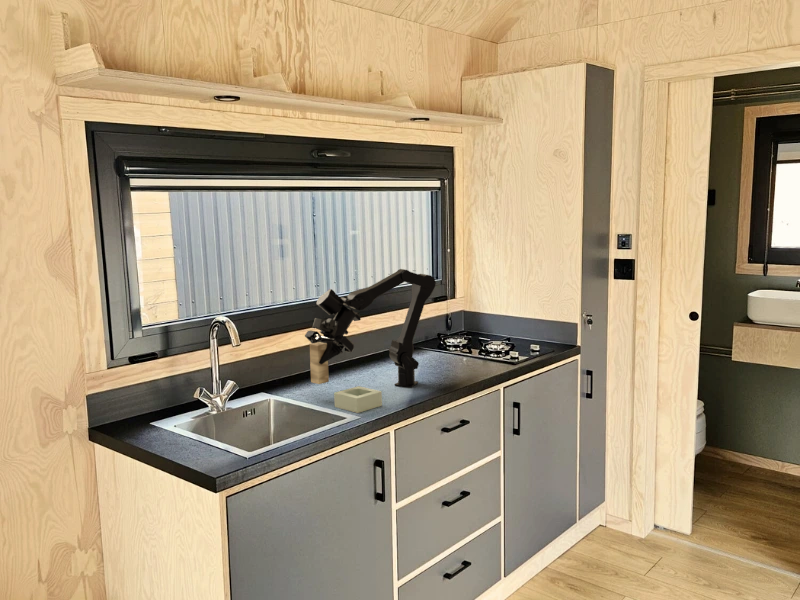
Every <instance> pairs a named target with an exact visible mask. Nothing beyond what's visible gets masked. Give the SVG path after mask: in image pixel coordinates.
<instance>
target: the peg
mask: <svg viewBox="0 0 800 600" xmlns="http://www.w3.org/2000/svg"><path fill="white" fill-rule="evenodd" d="M326 348H327V343H321V342H317V343H309V360H310V362H309V364H310V382H311V383H313V384H317V385H321V384H325V383H328V382H330V381H329V380H330V379H329V378H330V377H329V360H328V361H326V362H325V363H323V364H320V363H319V361H320V359H321V357H322V355H323V353H324V352H325V350H326Z"/></svg>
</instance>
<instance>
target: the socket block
mask: <svg viewBox="0 0 800 600" xmlns="http://www.w3.org/2000/svg"><path fill="white" fill-rule="evenodd" d="M382 392H383V391H381V390H377V389H374V388H373V389H372V388H367V387H364V386H359V385H357V386H353V387H350V388H346V389H343V390H340V391H335V392H334V394H333V397H334V408H337V409H341V410H345V411H348V412H353V413H356V414H359V413H362V412H366V411H369V410H372V409H374V408H379V407H381V406H383V395H382Z"/></svg>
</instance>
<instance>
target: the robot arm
mask: <svg viewBox="0 0 800 600" xmlns="http://www.w3.org/2000/svg"><path fill="white" fill-rule="evenodd" d="M403 283H407V284H410V285H411V300H410V304H409V307H408V310H407V313H406V315H405V318H404V322H403V325H402V329H401V332H400V334H399V337H397V339H395V340H394V339H392V340H391V343H390V347H389V348H388V351H389V354H388V355H389V358H390V360H391V361H392V362H393V364H394V365H395V367H397V378H398V379H397V382H396V383H394V387H404V388H405V387H406V388H412V387H415V386H416V385H417V384H418V383H419V381H418V380H417V381H416V379H415V378H416V377H415V373H416V372H415V370H417V369H418V368H419V365H420V363H419V361H418V360H416V358H414V357H413V355H414V337H415V335H416V331H417V328H418V325H419V322H420V319H421V317H422V313H423V310H424V307H425V304H426V302H427V300H428V299H429V298H430V297H431V296H432V293H433V292H434V290H435V288H436V285H437V281H436V279H435V277H433V276H432V275H430V274H424V273H415V272H412V271H410V270H408V269H404V268H400V269H398V270H397V271H395V272H394V273H391V274H390V275H389V276H386V277H384V278H383V279H380V280H379V281H377V282H375V283H374V284H371V285H370V286H367V287H364V288H360V289H357V290H353V291H351V292H350V293H348V294H347V295H346V296H342V297H340V296H339V295H338V294H337V293H336V292H335V291H334V290H333V289H331V288H329V289H328V290H327V291H326V292H324V293H323V294H322V295H320V296H319V297H318V299H317V301H316V306H318V307H319V308H321V309H322V311H324V312H325V313H327V314H328V315H329V316H332V315H334V317H333V318H327V319H323V318H316V317H315V318H314V321H313V324H312V329H316V330H317V331H315V330H307V332H306V333H305V335H304V337H305V338H306V339H307V340H308V341H309V342H310V344H312V343H317V342H321V343H327V348H326V350H325V352H324V353H323V355H322V357H321V359H320V361H319V363H320V364H323V363H325V362H326V361H328V362H329V360H331V359H333V358H334V357H336V356H338V355H340V354H343V353H344V352H345V353H349V354H351V353H352V352H353V351H354V350H355V344H354V343H353V342H352V340H350V339H349V337H348V336H346V335H348V334H349V331H348V328H349V327H350V326H351V324H352V322H353V321H354V322H358V321H361V316H360V312H355V311H354V310H357V311H364V310H366V309H367V308H368V307H369V306H371V304H372V303H373V302H374V301H375V300H376V299H377V298H379V297H380V296H382V295H383V294H385V293H387V292H389V291H391V290H393V289H394V288H396V287H398V286H400V285H401V284H403ZM318 330H319V332H318ZM343 350H344V351H343Z"/></svg>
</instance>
